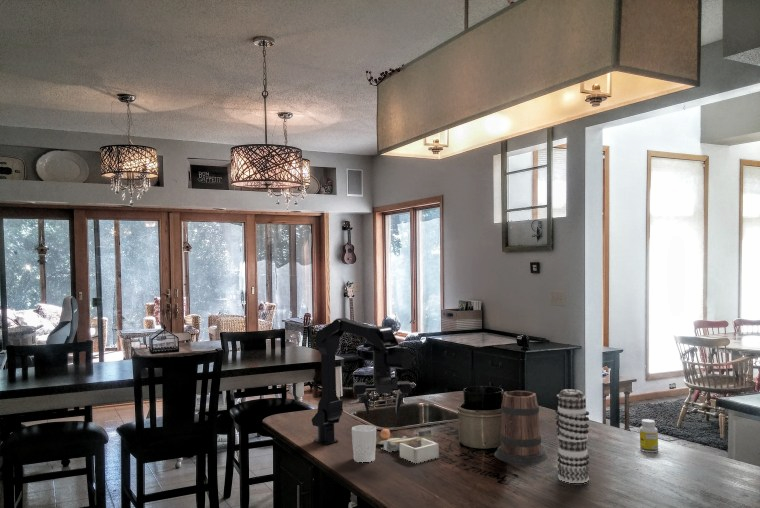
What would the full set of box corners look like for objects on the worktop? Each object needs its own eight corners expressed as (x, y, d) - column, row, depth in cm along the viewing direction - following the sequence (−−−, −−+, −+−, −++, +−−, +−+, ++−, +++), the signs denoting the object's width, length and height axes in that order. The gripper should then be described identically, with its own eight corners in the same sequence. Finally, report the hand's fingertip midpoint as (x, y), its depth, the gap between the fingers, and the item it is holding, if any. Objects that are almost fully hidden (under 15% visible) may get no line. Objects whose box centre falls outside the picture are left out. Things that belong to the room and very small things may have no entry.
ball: (378, 440, 203) (377, 430, 204) (387, 438, 205) (385, 428, 206) (384, 440, 200) (383, 429, 201) (392, 438, 202) (391, 428, 203)
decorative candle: (587, 486, 161) (585, 395, 162) (553, 481, 166) (551, 392, 166) (593, 476, 169) (591, 389, 170) (560, 471, 174) (558, 386, 174)
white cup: (373, 464, 182) (373, 432, 182) (349, 463, 184) (348, 431, 184) (378, 456, 190) (378, 425, 190) (355, 455, 191) (354, 424, 192)
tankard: (545, 466, 178) (544, 400, 178) (489, 460, 184) (488, 396, 184) (552, 444, 200) (550, 385, 200) (502, 440, 206) (501, 383, 206)
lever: (375, 444, 203) (374, 436, 203) (409, 436, 211) (408, 429, 212) (402, 445, 190) (401, 437, 190) (438, 436, 199) (436, 429, 199)
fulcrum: (380, 448, 198) (380, 439, 198) (402, 443, 203) (401, 434, 203) (389, 452, 193) (389, 442, 194) (411, 447, 199) (410, 437, 199)
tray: (399, 457, 188) (399, 443, 189) (422, 451, 194) (422, 438, 194) (415, 463, 182) (415, 449, 182) (438, 457, 187) (438, 443, 188)
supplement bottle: (639, 447, 195) (638, 417, 196) (657, 448, 194) (656, 419, 194) (640, 452, 190) (640, 422, 191) (659, 453, 188) (658, 423, 189)
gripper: (354, 371, 181) (354, 421, 181) (413, 369, 183) (414, 420, 182) (353, 365, 193) (353, 412, 192) (409, 364, 194) (410, 411, 193)
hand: (382, 414), depth 190 cm, fingers open, 9 cm apart
